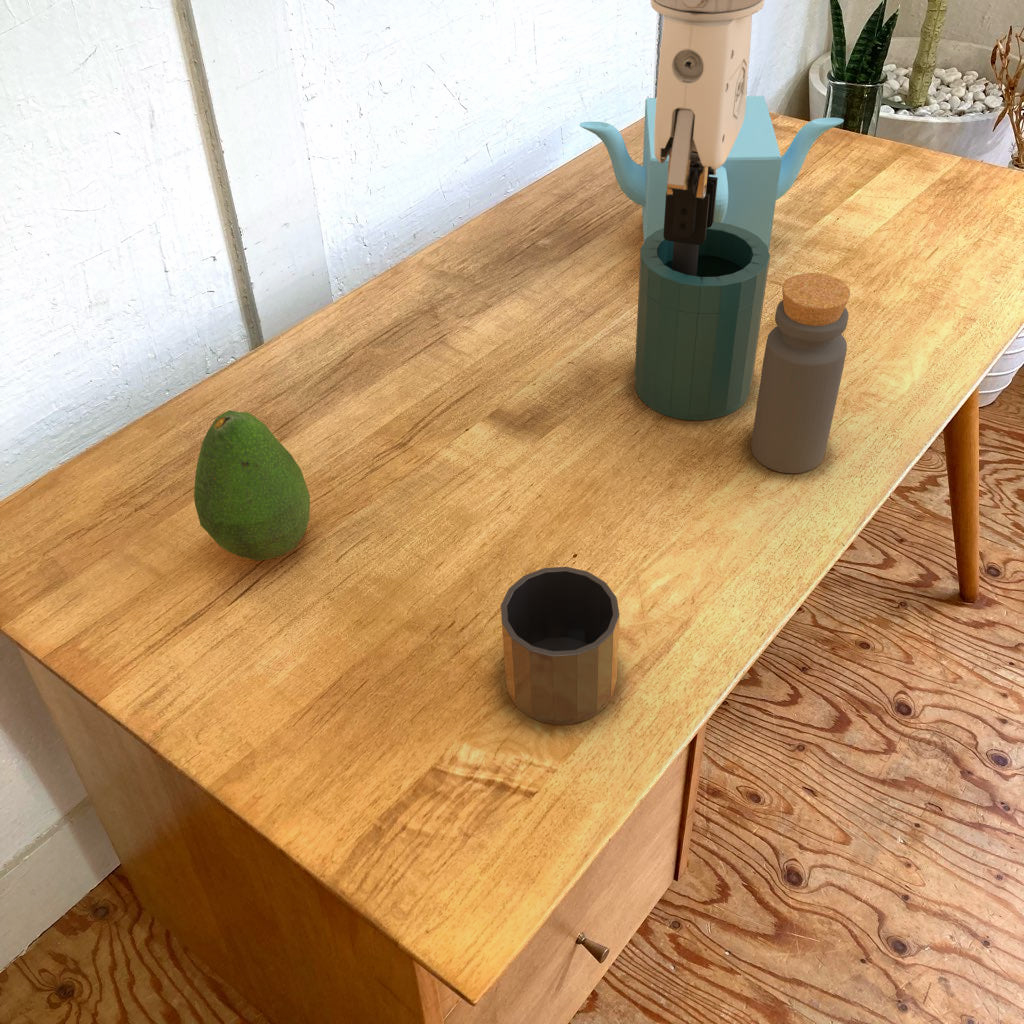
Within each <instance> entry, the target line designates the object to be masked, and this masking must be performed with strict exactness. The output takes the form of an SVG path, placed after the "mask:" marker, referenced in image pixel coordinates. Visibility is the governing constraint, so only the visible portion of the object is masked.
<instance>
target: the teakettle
mask: <svg viewBox="0 0 1024 1024" xmlns="http://www.w3.org/2000/svg"><path fill="white" fill-rule="evenodd" d="M644 102H645V103H644V126H643V148H642V165H641V164H639V163H637V162H636V161H634V160H633V159H632V157H631V156H630V153H629V151H628V149H627V146H626V142H625V140H624V137H623V136H622V133H621V132H620V130H619V129H617V127H615V126H614V125H612V124H611V123H608V122H604V121H583V122H580V123H579V127H581V128H582V129H584V130H587V131H588V132H590V133H592V134H594V135H595V136H596V137H598V139H600V141H601V142H602V143H603V145H604V146H605V148H606V150H607V153H608V155H609V156H608V157H609V158H610V162H611V167H612V170H613V173H614V176H615V179H616V182H617V184H618V186H619V188H620V189H621V191H622V192H623V193H624V195H625V196H626V197H627V198H628V199H629V200H631V201H632V202H633V203H634V204H637V205H638V206H641V216H642V231H643V232H642V233H643V235H642V236H643V242H644V241H645V239H646V238H647V237H649V236H650V235H651V234H653V233H654V232H655V231H657V230H660V229H662V228H664V218H665V202H666V191H667V178H668V163H669V155H668V157H667V159H666V160H665V162H664V163H660V162H659V161H658V160H657V158H656V157H655V151H654V132H655V112H656V97H646V99H645V101H644ZM844 121H845V120H844V119H843V118H840V117H819V118H815V119H812V120H810V121H807V122H806V123H805V124H804V125H803V126H802V127H801V128H799V130H798V131H797V133H796V134H795V136H794V137H793V139H792V141H791V143H790V145H789V146H788V148H787V149H786V151H785V152H784V153H783V155H781V152H780V151H781V150H780V148H779V144H778V141H777V136H776V132H775V130H774V129H775V128H774V125H773V121H772V118H771V115H770V111H769V108H768V104H767V101H766V98H765V95H747V96H746V109H745V117H744V121H743V124H742V127H741V129H740V132H739V134H738V136H737V138H736V140H735V143H734V145H733V147H732V149H731V151H730V153H729V155H728V157H727V159H726V161H725V162H724V164H723V165H722V166H720V167H719V168H718V169H717V172H716V175H709V177H718V181H717V191H716V201H715V211H714V221H713V222H719V223H726V224H730V225H734V226H737V227H740V228H743V229H746V230H748V231H749V232H751V233H753V234H755V235H757V236H758V237H759V238H760V239H761V240H762V241H763V242H764V243H765V244H766V245H767V247H768V250H769V251H770V245H771V238H772V233H773V232H772V231H773V224H774V219H775V218H774V216H775V211H776V210H775V209H776V202H777V201H778V200H779V199H781V198H782V197H784V196H785V194H787V193H788V192H789V190H790V189H791V188H792V187H793V185H794V183H795V182H796V181H797V178H798V176H799V175H800V172H801V170H802V168H803V165H804V163H805V160H806V158H807V156H808V154H809V152H810V150H811V148H812V146H813V145H814V144H815V142H816V141H817V140H818V138H819V137H821V136H822V135H823V134H824V133H826V132H828V131H829V130H831V129H833V128H835V127H837V126H839V125H842V123H844Z"/></svg>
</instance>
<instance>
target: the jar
mask: <svg viewBox="0 0 1024 1024" xmlns="http://www.w3.org/2000/svg"><path fill="white" fill-rule="evenodd" d="M663 234H664V228H662V229H660V230H657V231H655V232H654V233H653V234H651V235H650V236H649V237H647V238H646V239H645V241H644V240H643V243H642V245H641V246H640V251H639V271H638V272H639V273H638V274H639V275H638V293H637V294H638V295H637V296H638V297H637V317H636V318H637V319H636V336H635V337H636V338H635V357H634V389H635V392H636V394H637V396H638V398H639V399H640V400H641V401H642V403H644V404H645V405H646V406H647V407H649V408H650V409H652V410H653V411H655V412H657V413H659V414H661V415H664V416H666V417H669V418H672V419H673V418H674V419H678V420H685V421H708V420H714V419H719V418H722V417H725V416H726V417H727V415H728V416H729V415H731V414H732V413H734V412H736V411H738V410H739V409H740V408H741V407H743V406H744V404H745V403H746V402H747V400H748V399H749V397H750V394H751V390H752V386H753V380H754V372H755V366H756V358H757V352H758V343H759V337H760V330H761V324H762V323H761V322H762V316H763V309H764V302H765V297H766V296H765V295H766V288H767V281H768V273H769V269H770V268H769V266H770V262H771V261H770V260H771V255H770V249H769V250H768V247H767V245H766V244H765V243H764V242H763V241H762V240H761V239H760V238H759V237H758V236H757V235H755V234H753V233H751V232H749V231H748V230H746V229H743V228H740V227H737V226H734V225H730V224H726V223H719V222H713V224H712V226H711V227H709V228H707V231H706V239H705V241H704V243H703V244H702V245H699V252H698V263H697V275H696V276H691V275H686V274H683V273H680V272H677V271H674V270H672V259H673V244H674V242H673V241H667V240H665V239H664V236H663Z"/></svg>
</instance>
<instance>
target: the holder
mask: <svg viewBox="0 0 1024 1024" xmlns="http://www.w3.org/2000/svg"><path fill="white" fill-rule="evenodd" d="M500 615H501V616H500V617H501V619H500V620H501V632H502V645H503V657H504V658H503V660H504V672H505V687H506V689H507V692H508V695H509V698H510V700H511V701H512V702H513V704H514V705H515V706H516V707H517V708H518V710H520V711H521V712H522V713H523V714H525V715H526V716H528V717H529V718H531V719H533V720H535V721H537V722H540V723H543V724H544V723H545V724H548V725H556V726H567V725H573V724H578V723H581V722H584V721H587V720H589V719H591V718H593V717H595V716H596V715H598V714H599V713H600V712H602V711H603V710H604V709H605V707H607V705H608V704H609V702H610V701H611V700H612V698H613V696H614V693H615V689H616V685H617V684H616V683H617V681H618V663H619V661H618V659H619V641H620V640H619V639H620V638H619V637H620V636H619V635H620V609H619V603H618V597H617V595H616V594H615V593H614V591H612V589H611V588H610V586H609V585H608V584H607V582H605V581H604V580H602V579H601V578H599V576H596V575H594V574H593V573H591V572H589V571H587V570H582V569H578V568H574V567H570V566H556V567H553V566H552V567H543V568H541V569H538V570H535V571H532V572H530V573H528V574H525V575H523V576H522V577H521V578H519V579H518V580H517V581H515V583H513V584H512V585H511V586H510V587H509V588H508V589H507V591H506V593H505V595H504V597H503V600H502V602H501V604H500Z"/></svg>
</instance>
